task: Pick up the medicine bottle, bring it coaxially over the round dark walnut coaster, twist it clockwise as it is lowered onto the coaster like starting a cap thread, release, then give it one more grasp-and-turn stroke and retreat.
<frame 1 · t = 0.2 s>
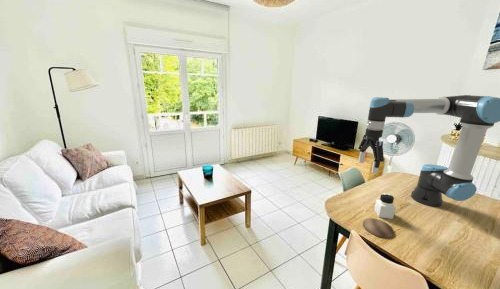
hand: (367, 167, 110), 27 cm above the table, fingers open, 13 cm apart
medicine bottle: (383, 214, 116), on the table
walnut coaster: (377, 228, 104), on the table
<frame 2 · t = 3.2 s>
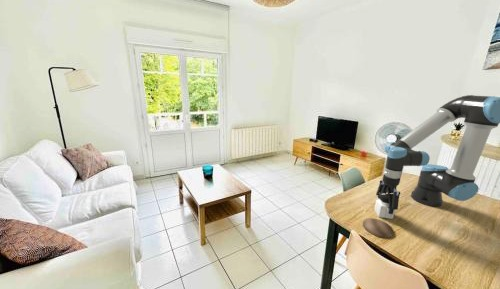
hand: (383, 213, 115), 1 cm above the table, fingers closed on medicine bottle, 8 cm apart
medicine bottle: (383, 214, 116), on the table, touching gripper
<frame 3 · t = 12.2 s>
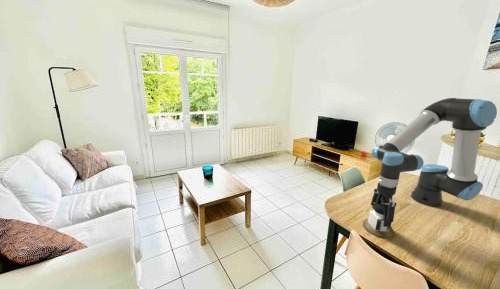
hand: (378, 225, 104), 2 cm above the table, fingers closed on medicine bottle, 7 cm apart
medicine bottle: (378, 226, 104), point 1 cm above the table, touching gripper, walnut coaster
when the fingers open (2 cm above the table, at t = 13.1 s): medicine bottle stays where it is, resting on walnut coaster.
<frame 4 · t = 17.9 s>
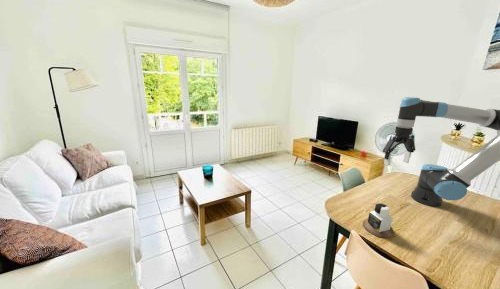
hand: (396, 163, 117), 27 cm above the table, fingers open, 13 cm apart
medicine bottle: (378, 226, 104), point 1 cm above the table, touching walnut coaster
at the end: medicine bottle 0.1 cm from the walnut coaster (horizontally); medicine bottle tilted 0°; the gripper is holding nothing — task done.
